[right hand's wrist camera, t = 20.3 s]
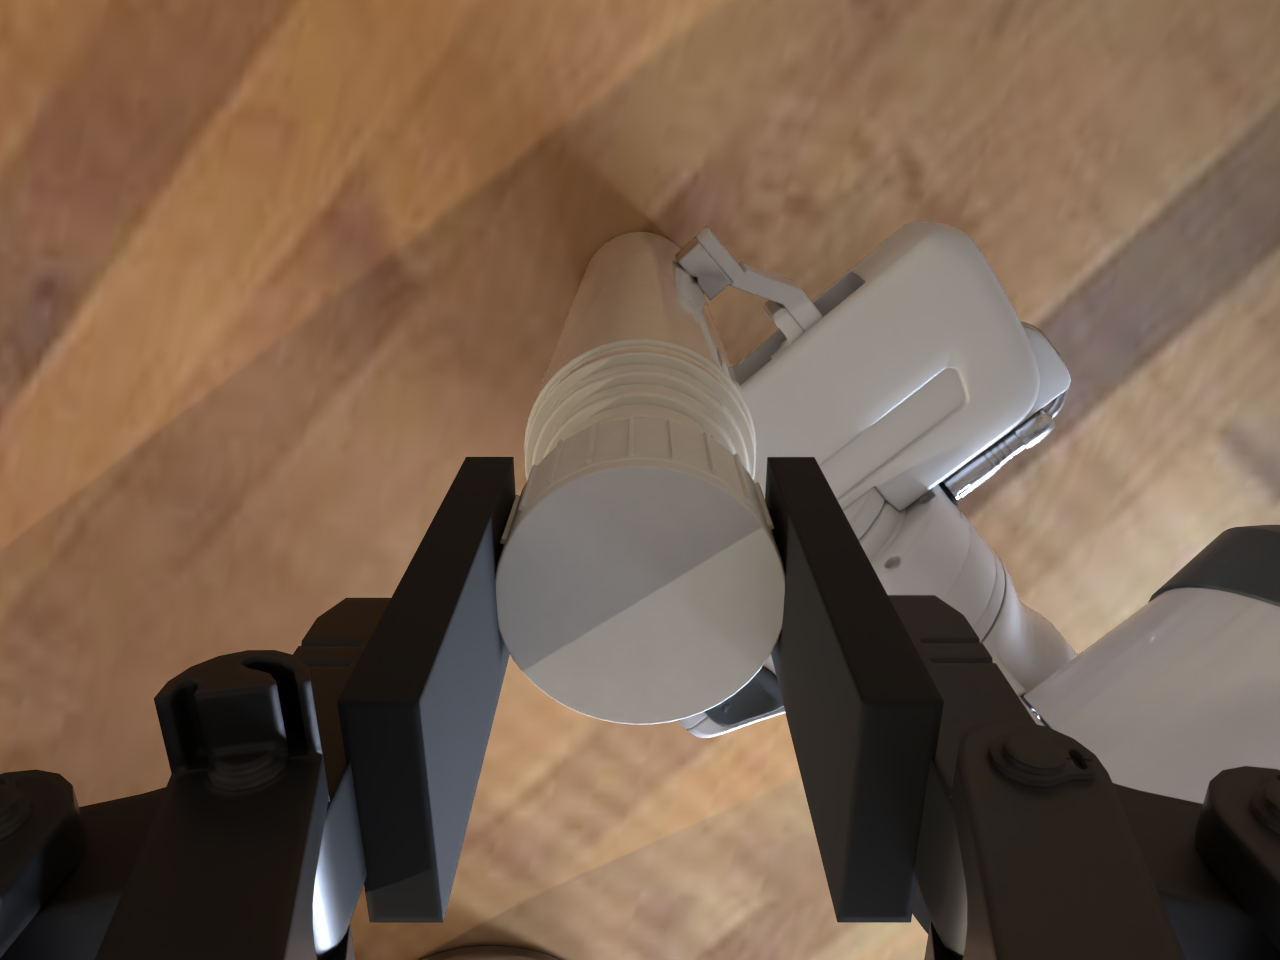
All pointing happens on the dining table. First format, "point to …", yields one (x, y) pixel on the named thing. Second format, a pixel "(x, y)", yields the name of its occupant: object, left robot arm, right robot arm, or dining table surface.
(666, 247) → the bottle
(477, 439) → the dining table surface
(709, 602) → the cap
